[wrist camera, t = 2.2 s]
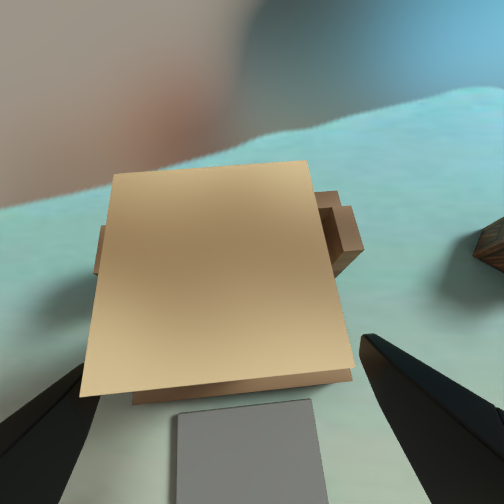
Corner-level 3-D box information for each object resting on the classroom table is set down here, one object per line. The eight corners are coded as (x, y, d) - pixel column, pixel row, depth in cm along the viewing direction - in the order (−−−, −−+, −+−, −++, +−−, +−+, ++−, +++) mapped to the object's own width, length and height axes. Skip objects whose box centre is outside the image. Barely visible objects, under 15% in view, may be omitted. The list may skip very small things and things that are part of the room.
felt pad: (340, 583, 14) (343, 591, 13) (176, 607, 14) (174, 616, 13) (309, 398, 18) (311, 399, 17) (179, 412, 17) (177, 414, 17)
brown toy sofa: (350, 377, 18) (405, 387, 12) (135, 401, 17) (68, 425, 11) (319, 238, 22) (346, 189, 16) (147, 253, 22) (103, 208, 15)
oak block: (280, 362, 17) (355, 367, 5) (204, 370, 16) (79, 397, 4) (270, 289, 19) (306, 160, 7) (203, 295, 18) (113, 173, 6)
